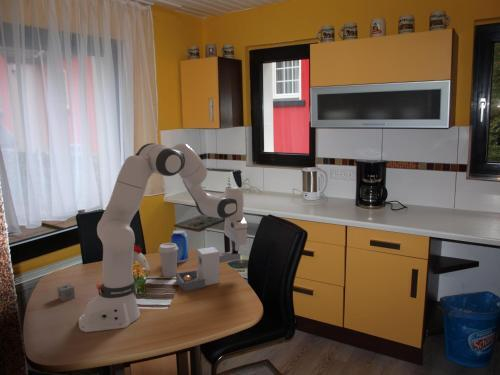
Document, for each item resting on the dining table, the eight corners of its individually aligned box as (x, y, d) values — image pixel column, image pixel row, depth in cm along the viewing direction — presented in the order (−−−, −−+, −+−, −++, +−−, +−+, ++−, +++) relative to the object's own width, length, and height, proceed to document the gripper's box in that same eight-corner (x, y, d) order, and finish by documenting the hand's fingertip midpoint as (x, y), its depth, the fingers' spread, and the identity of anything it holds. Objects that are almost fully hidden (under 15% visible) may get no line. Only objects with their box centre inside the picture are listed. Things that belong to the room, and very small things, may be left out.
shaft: (202, 265, 192) (202, 247, 191) (200, 262, 196) (199, 245, 195) (240, 259, 200) (240, 242, 198) (237, 256, 203) (236, 239, 202)
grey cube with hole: (69, 294, 185) (68, 283, 184) (74, 298, 181) (73, 287, 181) (58, 298, 181) (57, 287, 180) (63, 301, 178) (62, 290, 177)
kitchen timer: (142, 280, 200) (140, 249, 197) (115, 278, 203) (113, 248, 200) (154, 269, 213) (152, 241, 211) (129, 267, 216) (127, 239, 213)
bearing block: (203, 285, 192) (202, 254, 189) (198, 279, 199) (197, 249, 196) (220, 282, 195) (219, 251, 192) (214, 276, 202) (213, 246, 200)
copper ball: (182, 281, 190) (188, 275, 190) (180, 278, 193) (186, 272, 194) (187, 287, 191) (194, 280, 192) (185, 284, 195) (191, 277, 195)
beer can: (170, 262, 222) (168, 233, 220) (175, 257, 231) (174, 229, 228) (185, 263, 221) (184, 234, 218) (190, 258, 229) (189, 229, 226)
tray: (183, 291, 186) (183, 283, 185) (176, 281, 197) (175, 273, 197) (205, 287, 190) (204, 279, 189) (196, 277, 201) (196, 269, 201)
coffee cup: (183, 273, 207) (182, 244, 204) (170, 280, 199) (168, 249, 197) (169, 269, 212) (167, 241, 210) (155, 276, 204) (153, 246, 202)
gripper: (220, 216, 206) (221, 243, 208) (236, 226, 187) (236, 256, 190) (232, 215, 208) (233, 242, 211) (249, 225, 190) (249, 254, 192)
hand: (235, 249), depth 200 cm, fingers closed on shaft, 3 cm apart
